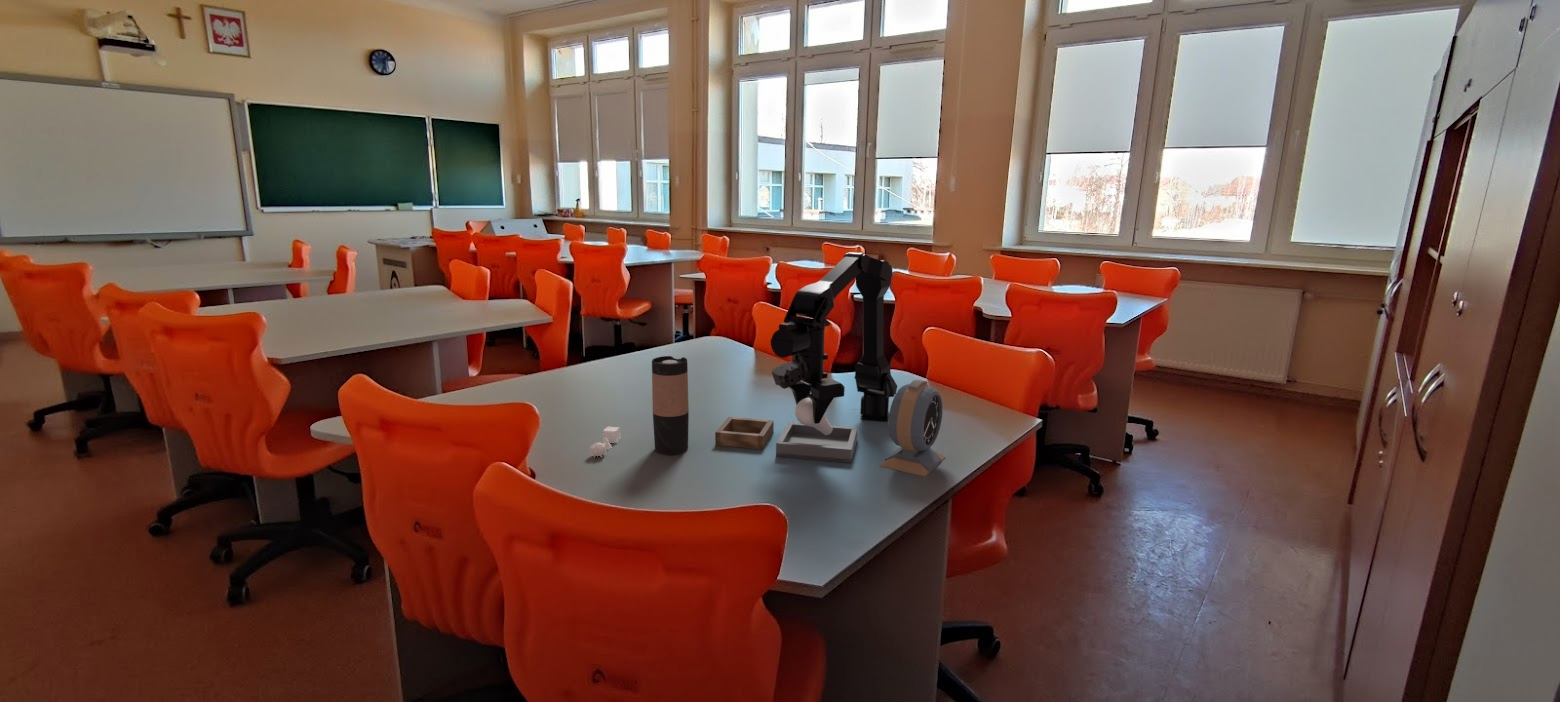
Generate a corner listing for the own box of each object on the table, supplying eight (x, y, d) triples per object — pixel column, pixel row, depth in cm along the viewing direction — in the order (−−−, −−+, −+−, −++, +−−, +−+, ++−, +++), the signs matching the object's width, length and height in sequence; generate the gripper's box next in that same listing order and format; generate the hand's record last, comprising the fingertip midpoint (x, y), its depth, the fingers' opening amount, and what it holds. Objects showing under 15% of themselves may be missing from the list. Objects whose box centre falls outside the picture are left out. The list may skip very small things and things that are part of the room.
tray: (857, 440, 160) (857, 427, 159) (851, 463, 146) (851, 449, 146) (788, 434, 163) (788, 422, 162) (775, 456, 149) (776, 443, 149)
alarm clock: (922, 478, 139) (928, 393, 135) (877, 467, 144) (881, 385, 140) (946, 456, 151) (952, 377, 147) (904, 446, 156) (908, 370, 152)
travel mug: (660, 457, 148) (657, 365, 143) (649, 446, 154) (646, 357, 150) (694, 452, 151) (693, 362, 146) (682, 440, 158) (680, 354, 153)
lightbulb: (842, 417, 156) (813, 388, 151) (840, 439, 152) (810, 409, 147) (820, 425, 160) (791, 397, 154) (817, 447, 155) (787, 418, 150)
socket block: (773, 432, 164) (773, 420, 163) (763, 449, 153) (763, 436, 153) (728, 428, 166) (728, 416, 165) (715, 445, 155) (715, 432, 155)
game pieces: (607, 439, 158) (606, 426, 158) (621, 440, 158) (620, 426, 157) (588, 459, 147) (587, 445, 146) (604, 460, 146) (603, 445, 146)
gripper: (757, 343, 153) (756, 411, 157) (799, 363, 137) (798, 438, 141) (801, 339, 158) (800, 405, 162) (847, 357, 142) (844, 429, 146)
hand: (809, 418), depth 152 cm, fingers open, 6 cm apart
